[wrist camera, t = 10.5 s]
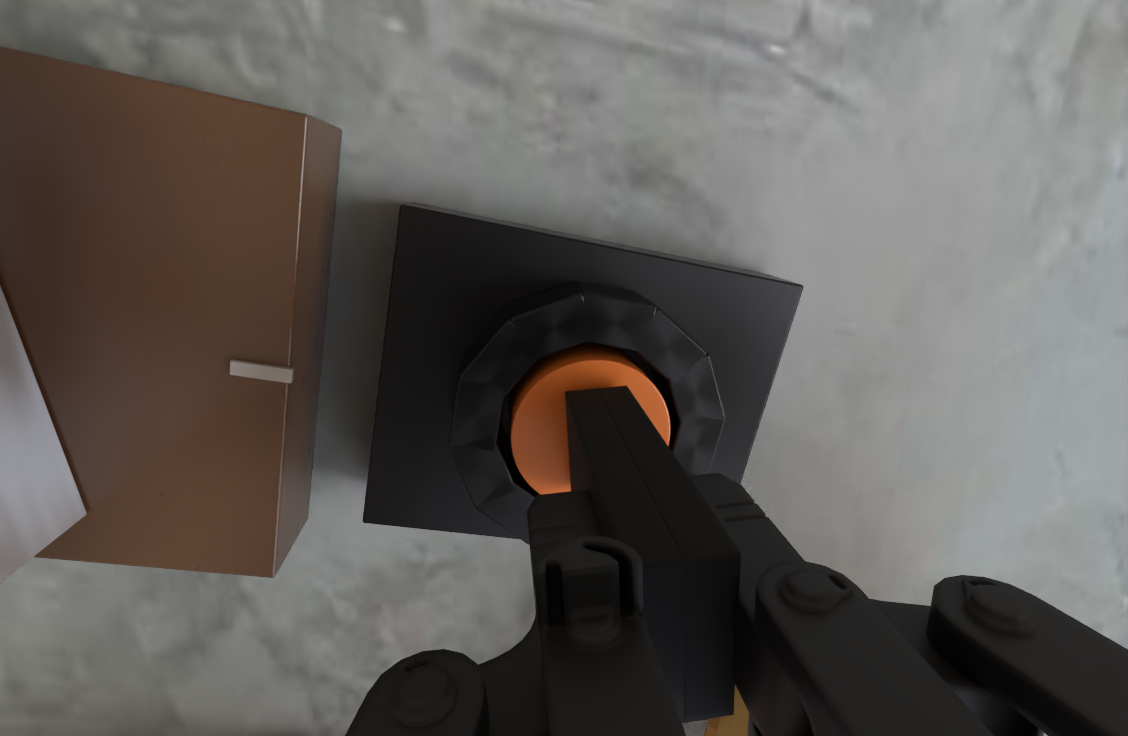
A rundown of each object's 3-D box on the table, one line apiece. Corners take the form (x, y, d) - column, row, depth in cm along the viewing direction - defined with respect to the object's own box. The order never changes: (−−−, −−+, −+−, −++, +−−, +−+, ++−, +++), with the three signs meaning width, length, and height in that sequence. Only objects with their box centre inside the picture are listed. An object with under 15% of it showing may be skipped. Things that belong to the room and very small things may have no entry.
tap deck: (-211, 498, 16) (-371, 568, 13) (-323, -73, 12) (-587, -158, 9) (308, 548, 19) (273, 616, 16) (350, 85, 15) (314, 58, 12)
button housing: (376, 485, 18) (346, 562, 14) (411, 201, 16) (386, 205, 12) (693, 522, 20) (739, 599, 16) (768, 274, 18) (843, 297, 14)
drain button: (497, 467, 16) (498, 499, 14) (523, 329, 15) (527, 347, 13) (633, 484, 16) (649, 517, 15) (667, 354, 15) (688, 374, 14)
